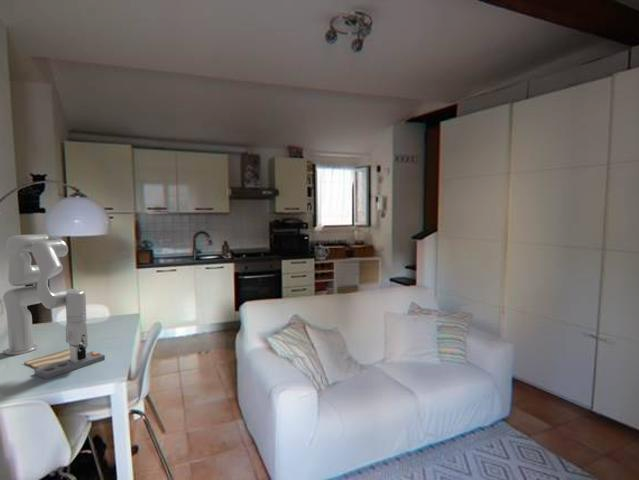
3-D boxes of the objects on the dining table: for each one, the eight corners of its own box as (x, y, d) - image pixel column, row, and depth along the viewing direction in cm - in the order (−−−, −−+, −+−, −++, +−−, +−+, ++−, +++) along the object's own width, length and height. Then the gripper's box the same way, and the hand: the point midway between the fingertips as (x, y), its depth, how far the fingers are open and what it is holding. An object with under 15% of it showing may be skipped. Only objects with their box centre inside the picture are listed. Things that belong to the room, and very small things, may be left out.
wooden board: (24, 363, 167) (24, 361, 167) (67, 350, 183) (67, 349, 182) (39, 370, 160) (39, 368, 160) (82, 356, 176) (82, 354, 176)
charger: (70, 364, 166) (69, 344, 165) (81, 361, 170) (80, 341, 169) (75, 367, 163) (74, 345, 163) (86, 363, 167) (85, 342, 167)
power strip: (34, 374, 156) (34, 368, 156) (92, 355, 177) (92, 350, 177) (46, 379, 151) (46, 373, 151) (104, 359, 172) (104, 354, 172)
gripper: (57, 317, 166) (59, 357, 167) (77, 323, 158) (79, 364, 159) (75, 314, 173) (77, 351, 174) (95, 319, 164) (97, 358, 165)
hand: (78, 357), depth 166 cm, fingers open, 5 cm apart
